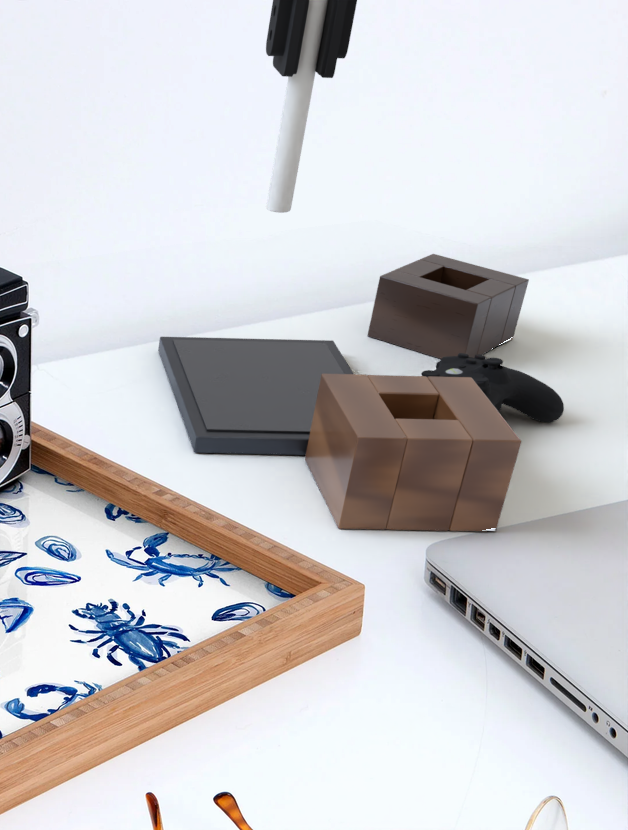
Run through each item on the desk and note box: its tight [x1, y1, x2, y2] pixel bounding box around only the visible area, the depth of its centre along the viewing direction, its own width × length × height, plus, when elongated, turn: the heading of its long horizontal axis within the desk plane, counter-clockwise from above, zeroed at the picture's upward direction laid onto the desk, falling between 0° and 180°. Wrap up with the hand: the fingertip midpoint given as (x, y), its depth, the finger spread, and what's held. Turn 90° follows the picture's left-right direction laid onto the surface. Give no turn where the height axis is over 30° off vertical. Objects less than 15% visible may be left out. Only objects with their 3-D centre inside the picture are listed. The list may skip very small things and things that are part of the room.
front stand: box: [304, 373, 522, 532], centre depth 76 cm, size 8×8×5 cm
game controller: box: [420, 353, 565, 423], centre depth 84 cm, size 10×5×7 cm
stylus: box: [265, 0, 328, 214], centre depth 80 cm, size 1×1×13 cm
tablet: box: [157, 336, 355, 456], centre depth 86 cm, size 11×15×1 cm
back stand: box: [367, 253, 530, 360], centre depth 95 cm, size 7×7×4 cm
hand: (302, 69), depth 80 cm, fingers closed on stylus, 1 cm apart
